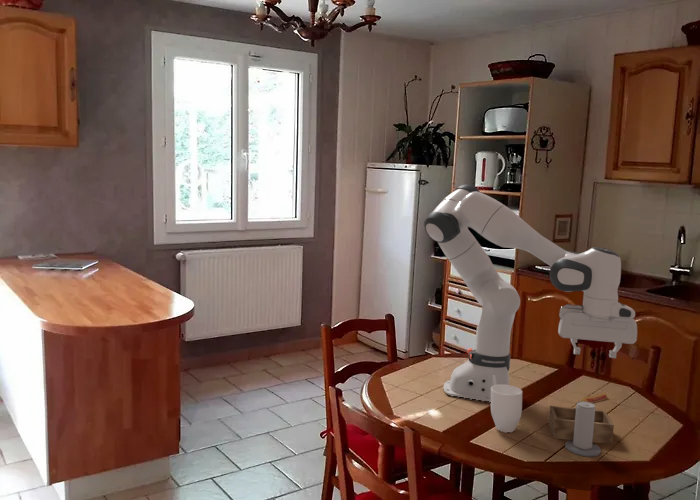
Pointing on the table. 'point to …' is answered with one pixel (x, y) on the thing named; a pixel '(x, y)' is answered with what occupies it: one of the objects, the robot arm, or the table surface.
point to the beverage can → (584, 425)
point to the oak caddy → (565, 423)
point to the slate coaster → (589, 453)
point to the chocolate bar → (595, 398)
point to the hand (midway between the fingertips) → (594, 355)
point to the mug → (506, 406)
